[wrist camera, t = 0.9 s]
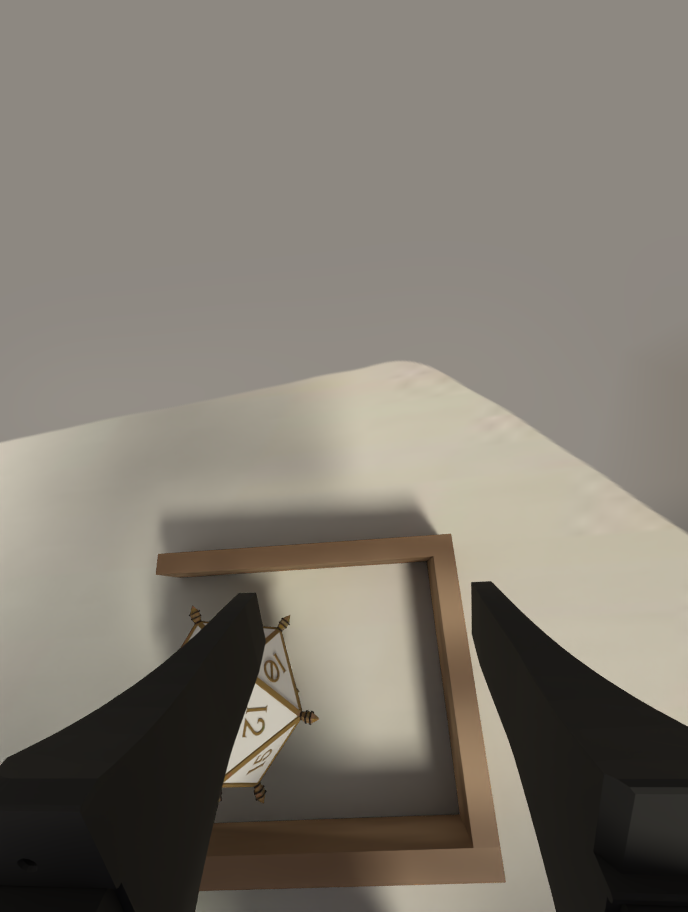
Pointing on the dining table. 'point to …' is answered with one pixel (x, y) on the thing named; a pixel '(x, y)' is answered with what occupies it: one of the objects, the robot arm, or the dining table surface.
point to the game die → (263, 712)
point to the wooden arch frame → (378, 838)
